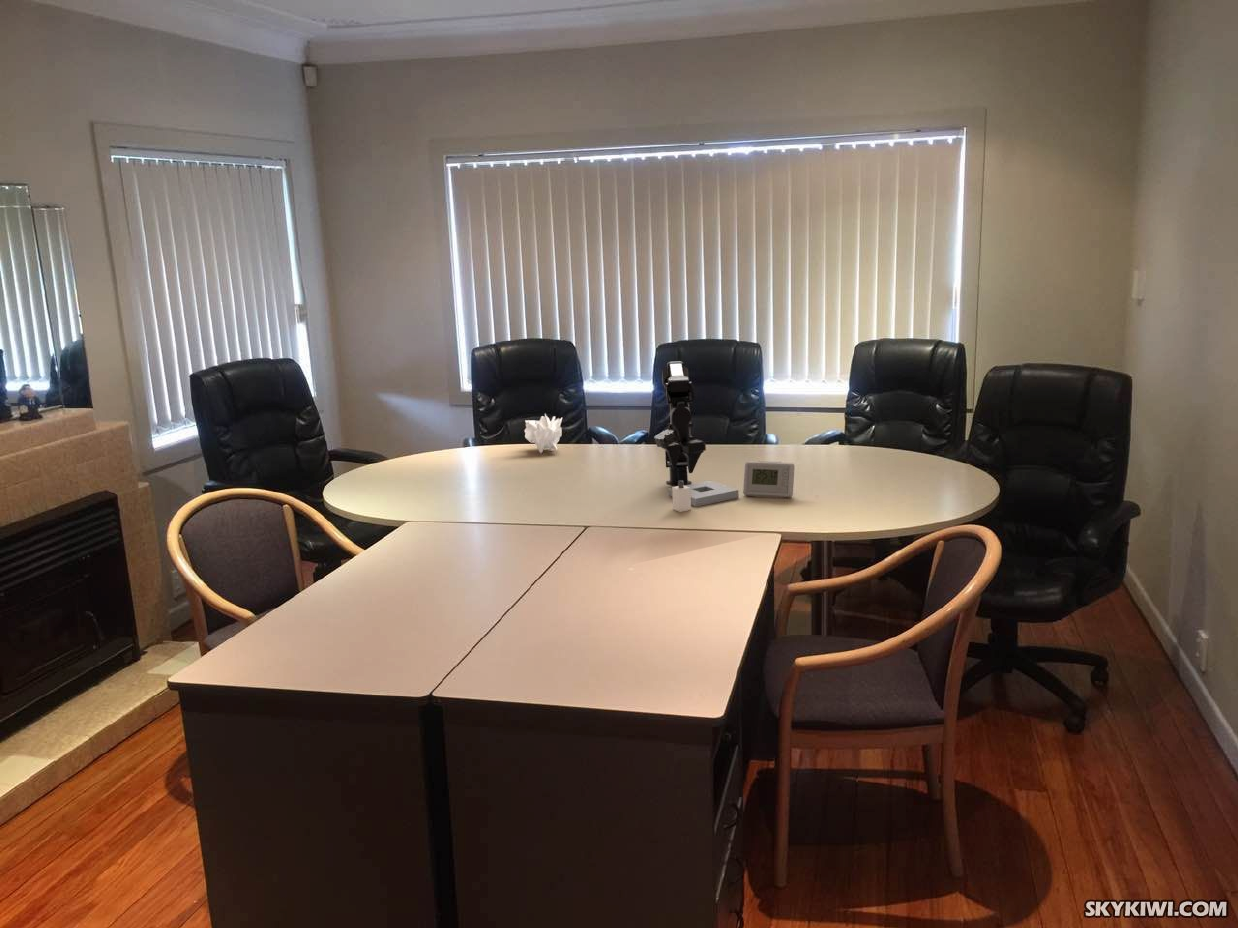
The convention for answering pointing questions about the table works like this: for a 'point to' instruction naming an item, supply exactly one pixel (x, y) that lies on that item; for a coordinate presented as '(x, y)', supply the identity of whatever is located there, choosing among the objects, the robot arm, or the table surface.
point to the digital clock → (768, 479)
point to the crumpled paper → (544, 433)
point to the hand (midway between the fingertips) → (682, 470)
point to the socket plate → (709, 493)
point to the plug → (681, 497)
